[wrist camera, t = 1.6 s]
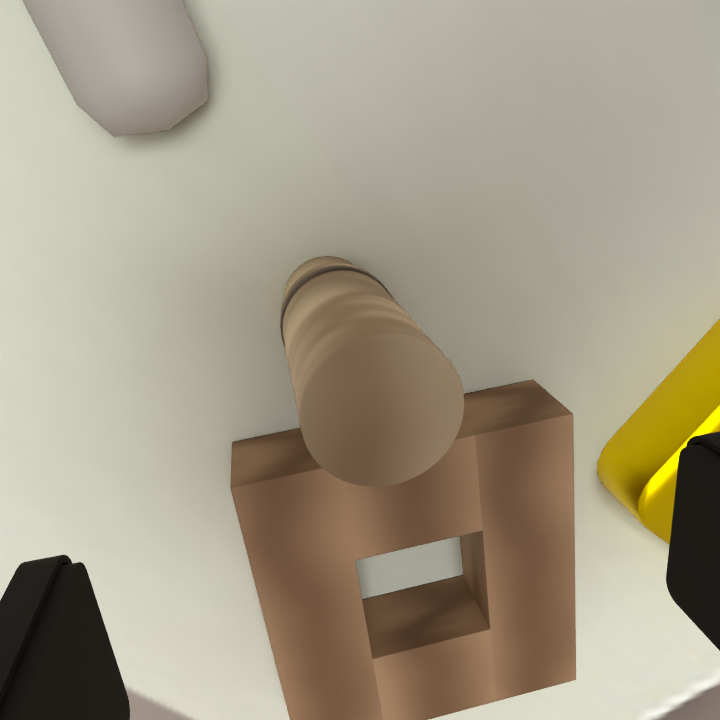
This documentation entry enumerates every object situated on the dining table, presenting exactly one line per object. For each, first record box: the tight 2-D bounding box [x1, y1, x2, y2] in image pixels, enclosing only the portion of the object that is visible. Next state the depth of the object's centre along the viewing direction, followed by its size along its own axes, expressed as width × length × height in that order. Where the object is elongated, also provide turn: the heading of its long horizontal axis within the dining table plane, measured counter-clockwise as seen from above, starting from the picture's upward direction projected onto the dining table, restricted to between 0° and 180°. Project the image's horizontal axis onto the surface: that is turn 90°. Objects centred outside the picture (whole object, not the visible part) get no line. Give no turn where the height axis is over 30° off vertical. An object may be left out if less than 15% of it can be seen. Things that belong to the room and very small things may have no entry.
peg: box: [280, 256, 464, 487], centre depth 22 cm, size 4×4×12 cm
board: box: [230, 380, 576, 720], centre depth 31 cm, size 15×16×4 cm
